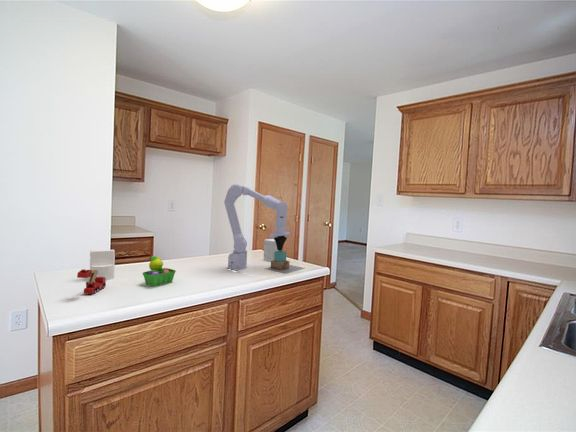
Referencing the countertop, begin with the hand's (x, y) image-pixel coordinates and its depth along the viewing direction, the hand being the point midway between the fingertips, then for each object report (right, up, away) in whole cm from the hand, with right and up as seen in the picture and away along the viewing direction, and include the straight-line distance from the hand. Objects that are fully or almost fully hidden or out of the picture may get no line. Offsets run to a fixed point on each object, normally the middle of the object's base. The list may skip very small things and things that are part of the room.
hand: (279, 250), depth 162 cm
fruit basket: (-50, -10, -33) cm, 61 cm away
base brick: (0, -10, 0) cm, 10 cm away
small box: (-5, -9, +19) cm, 22 cm away
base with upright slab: (-76, -9, -30) cm, 82 cm away
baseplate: (+3, -11, +1) cm, 11 cm away
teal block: (0, -6, 0) cm, 6 cm away
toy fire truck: (-68, -10, -48) cm, 84 cm away
